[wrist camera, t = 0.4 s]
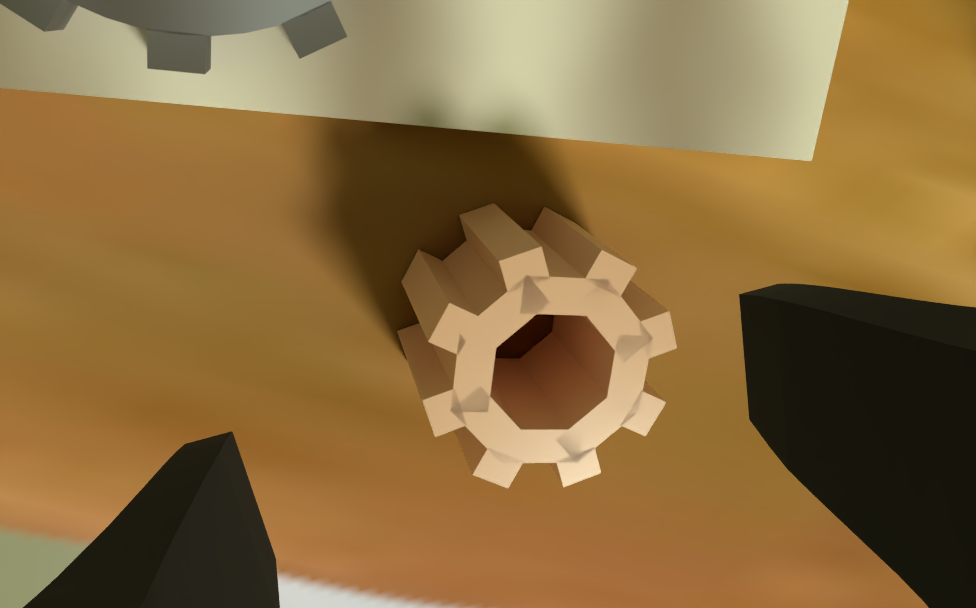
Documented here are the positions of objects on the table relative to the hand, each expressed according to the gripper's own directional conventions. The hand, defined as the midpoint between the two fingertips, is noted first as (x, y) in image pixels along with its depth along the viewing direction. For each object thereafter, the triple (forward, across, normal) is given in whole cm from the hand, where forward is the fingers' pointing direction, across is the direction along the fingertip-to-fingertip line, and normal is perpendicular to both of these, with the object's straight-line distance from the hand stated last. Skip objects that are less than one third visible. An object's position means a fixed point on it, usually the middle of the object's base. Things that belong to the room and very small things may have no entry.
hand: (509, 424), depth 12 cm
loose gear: (+9, -2, +2) cm, 10 cm away
